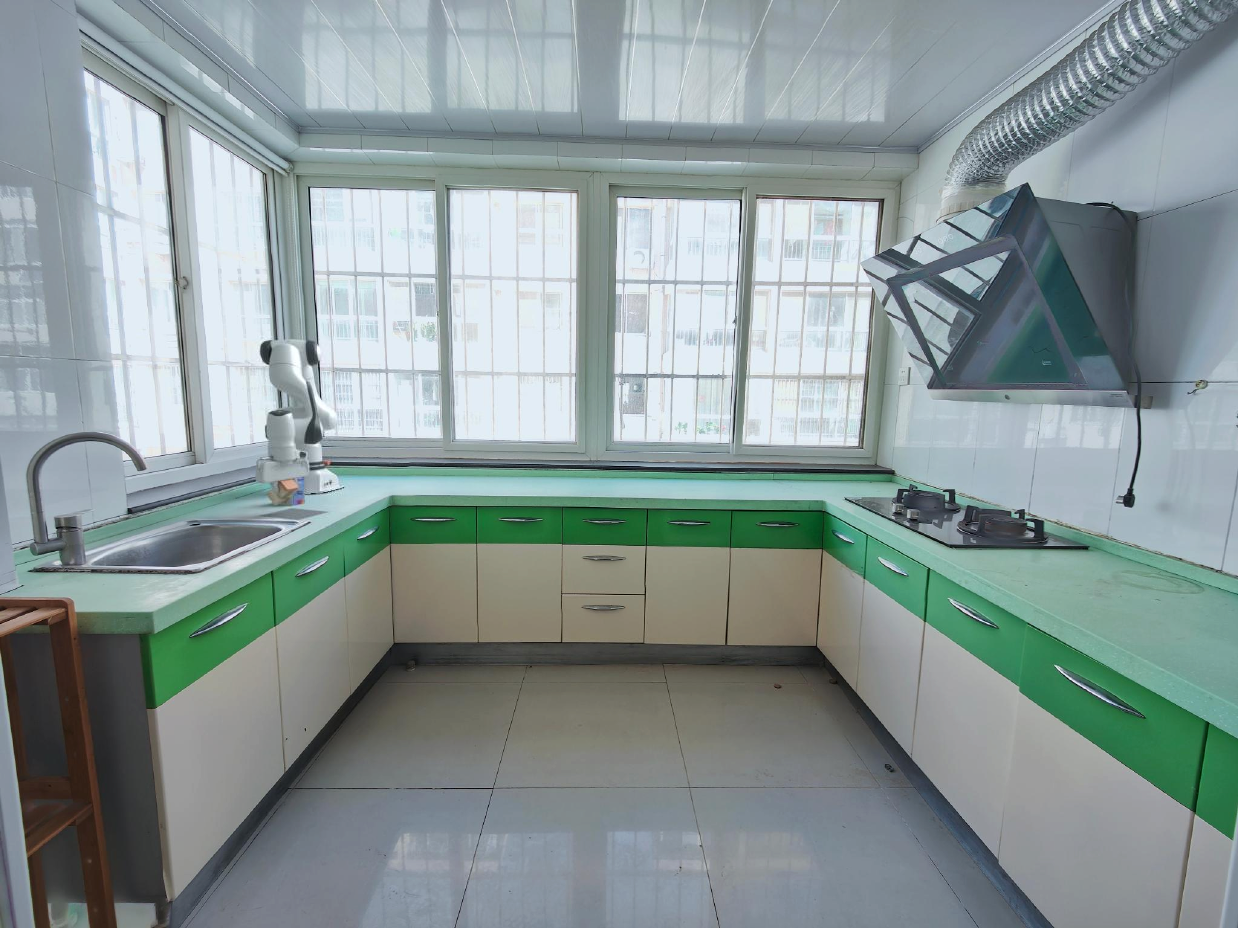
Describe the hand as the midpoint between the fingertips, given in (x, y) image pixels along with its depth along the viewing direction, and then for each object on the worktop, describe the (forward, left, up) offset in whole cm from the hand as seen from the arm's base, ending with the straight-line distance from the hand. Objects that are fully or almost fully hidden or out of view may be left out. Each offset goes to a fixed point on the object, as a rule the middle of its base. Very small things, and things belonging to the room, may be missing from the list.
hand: (284, 491), depth 198 cm
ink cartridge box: (-16, -15, -9) cm, 24 cm away
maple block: (0, -4, -3) cm, 5 cm away
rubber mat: (-2, +2, -9) cm, 10 cm away
